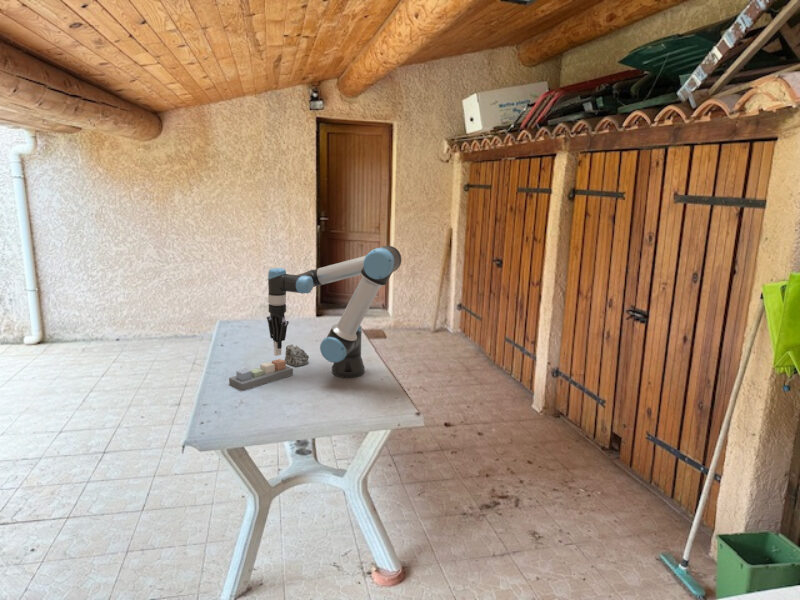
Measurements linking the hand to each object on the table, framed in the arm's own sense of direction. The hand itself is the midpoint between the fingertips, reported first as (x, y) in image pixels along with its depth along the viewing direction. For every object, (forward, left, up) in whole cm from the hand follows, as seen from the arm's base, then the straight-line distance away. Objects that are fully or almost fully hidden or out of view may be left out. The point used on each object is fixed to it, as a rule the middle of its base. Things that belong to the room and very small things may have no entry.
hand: (277, 354), depth 229 cm
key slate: (0, +18, -7) cm, 19 cm away
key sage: (0, +12, -8) cm, 14 cm away
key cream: (0, +6, -7) cm, 9 cm away
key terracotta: (0, 0, -7) cm, 7 cm away
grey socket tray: (0, +9, -9) cm, 13 cm away
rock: (+6, -15, -10) cm, 19 cm away
